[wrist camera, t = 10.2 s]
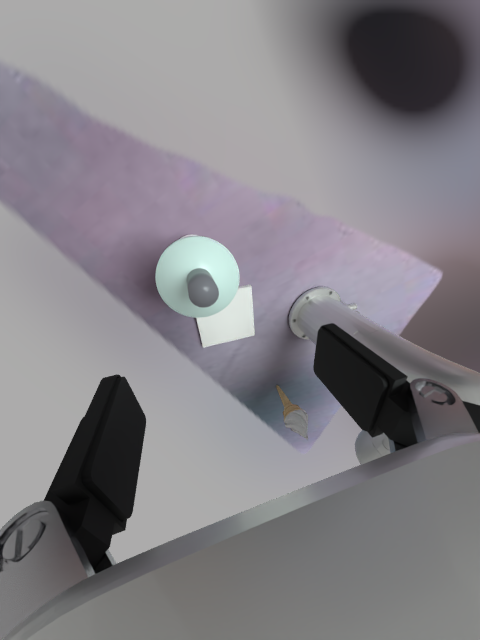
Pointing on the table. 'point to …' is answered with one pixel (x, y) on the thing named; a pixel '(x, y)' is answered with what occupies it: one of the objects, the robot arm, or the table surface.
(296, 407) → the ice cream cone
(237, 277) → the lid
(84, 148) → the table surface
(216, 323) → the mat
